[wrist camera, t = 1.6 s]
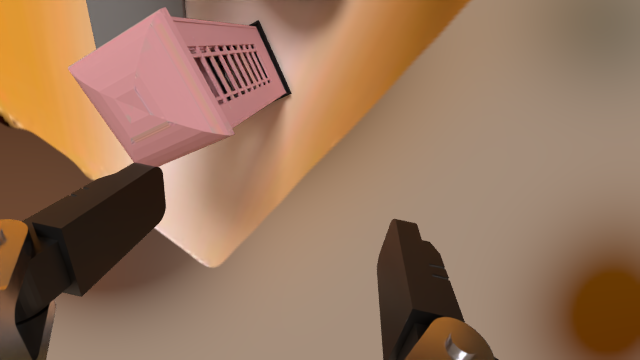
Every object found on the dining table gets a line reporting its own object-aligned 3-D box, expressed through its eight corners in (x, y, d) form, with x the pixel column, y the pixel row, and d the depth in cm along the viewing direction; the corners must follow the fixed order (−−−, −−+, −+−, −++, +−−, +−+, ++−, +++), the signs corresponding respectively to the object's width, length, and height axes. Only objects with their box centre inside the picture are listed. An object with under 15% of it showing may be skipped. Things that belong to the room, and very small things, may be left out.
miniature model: (236, 119, 39) (131, 193, 22) (196, 51, 36) (34, 73, 18) (295, 91, 36) (229, 150, 19) (257, 14, 33) (135, -1, 15)
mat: (182, -25, 32) (180, -26, 32) (193, 130, 41) (191, 131, 40) (81, -41, 33) (77, -42, 32) (113, 115, 41) (110, 116, 41)
